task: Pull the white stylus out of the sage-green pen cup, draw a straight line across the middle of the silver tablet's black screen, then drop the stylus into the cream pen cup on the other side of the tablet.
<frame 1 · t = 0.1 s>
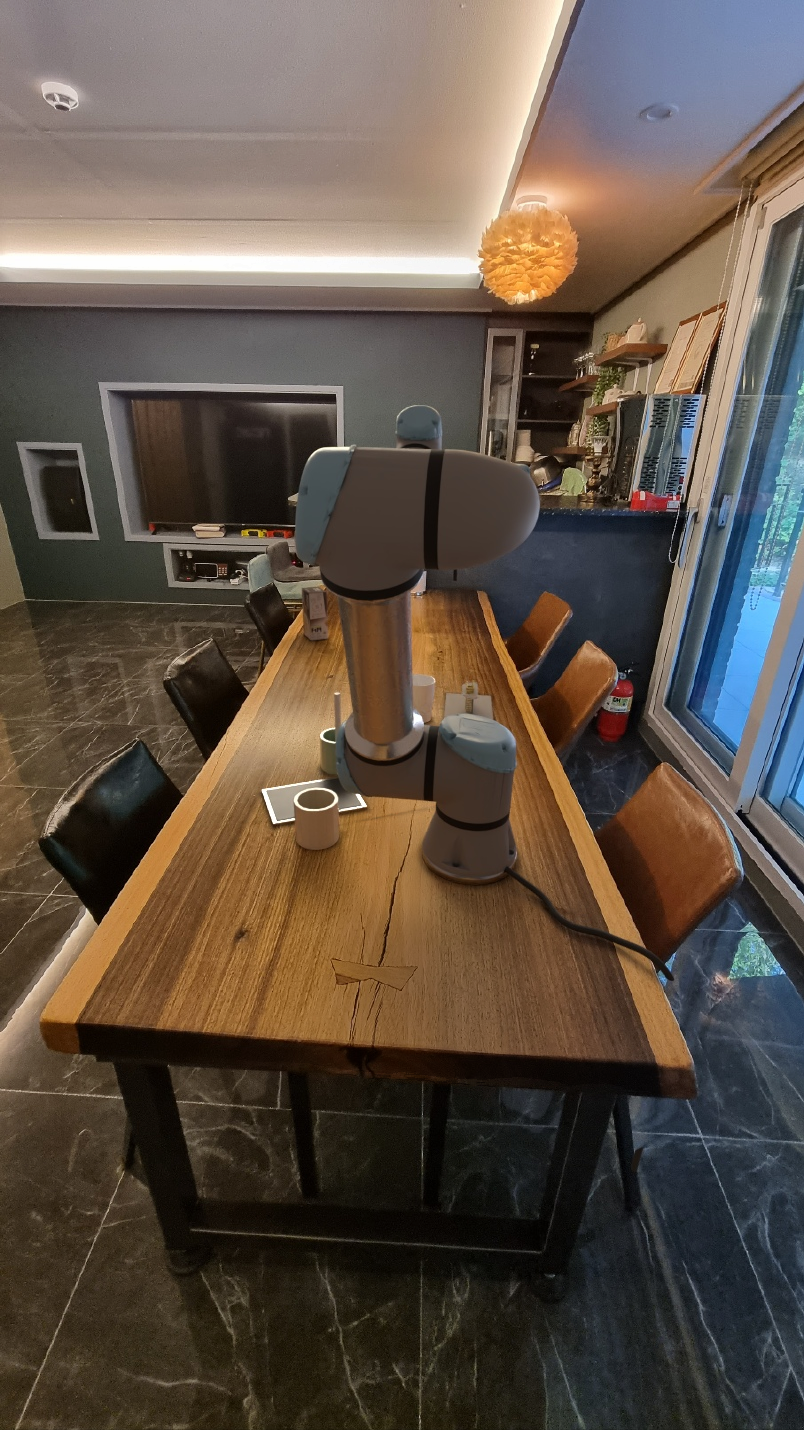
hand: (423, 574, 130), 36 cm above the table, tool tilted 35°, fingers open, 13 cm apart
platform: (468, 708, 156), on the table
stylus: (338, 765, 125), resting on pen cup green
white cup: (417, 718, 150), on the table
pen cup green: (338, 768, 126), on the table
pen cup cream: (317, 837, 104), on the table
tablet: (313, 802, 114), on the table
coffee box: (315, 636, 210), on the table
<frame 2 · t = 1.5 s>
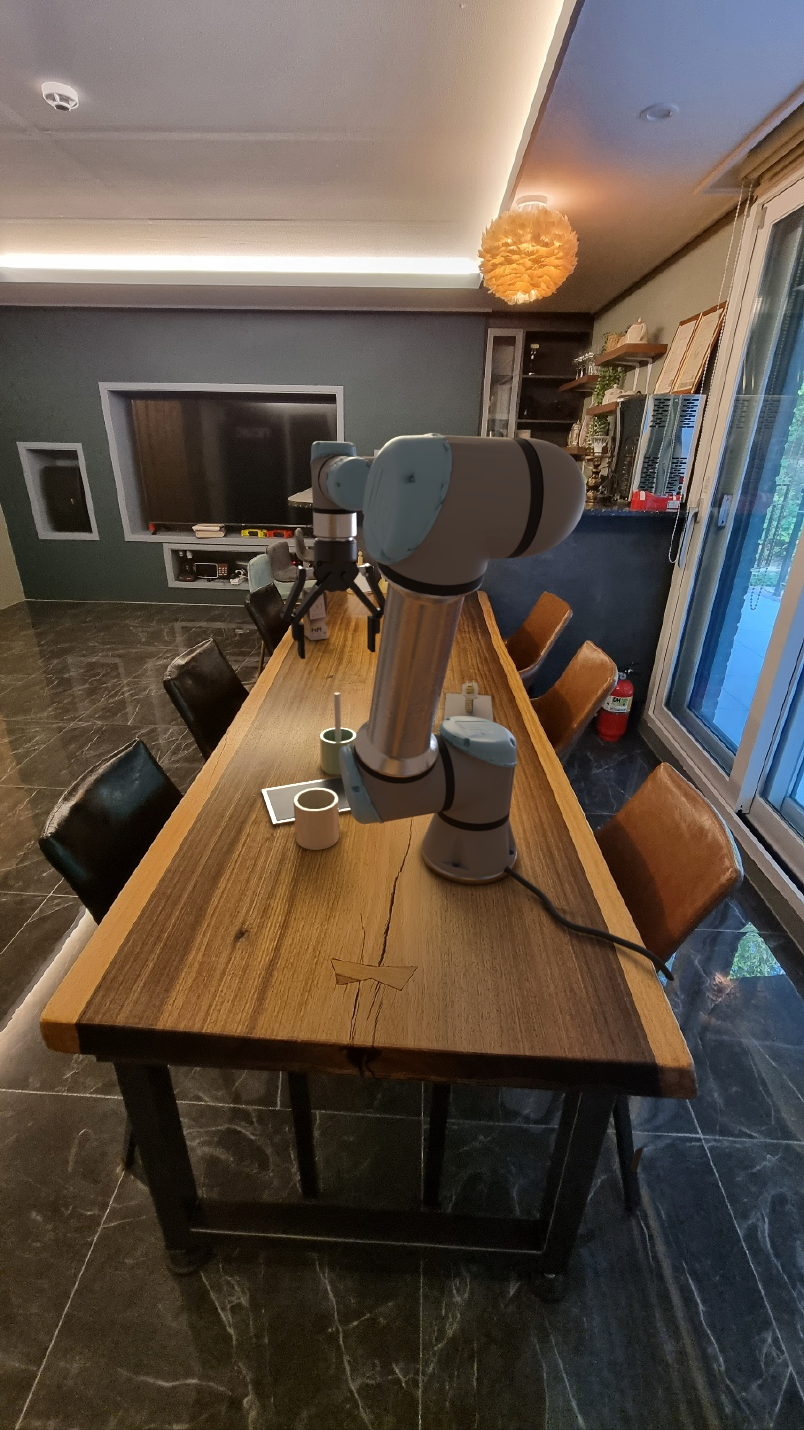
hand: (337, 653, 116), 25 cm above the table, tool pointing down, fingers open, 13 cm apart
nothing on the table moved.
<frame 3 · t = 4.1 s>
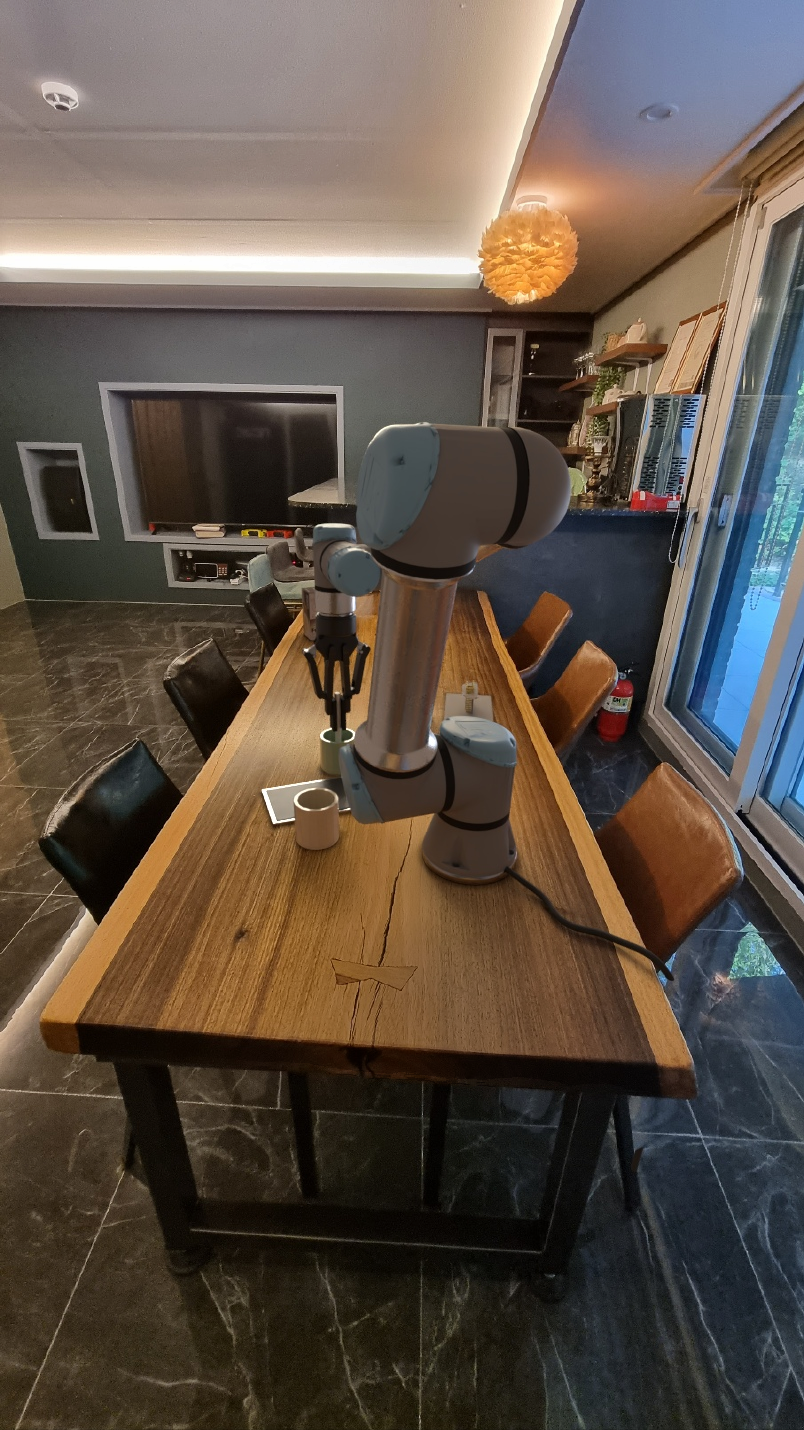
hand: (338, 728, 122), 9 cm above the table, tool pointing down, fingers closed on stylus
stylus: (338, 765, 125), point 1 cm above the table, touching gripper
everything else where it was.
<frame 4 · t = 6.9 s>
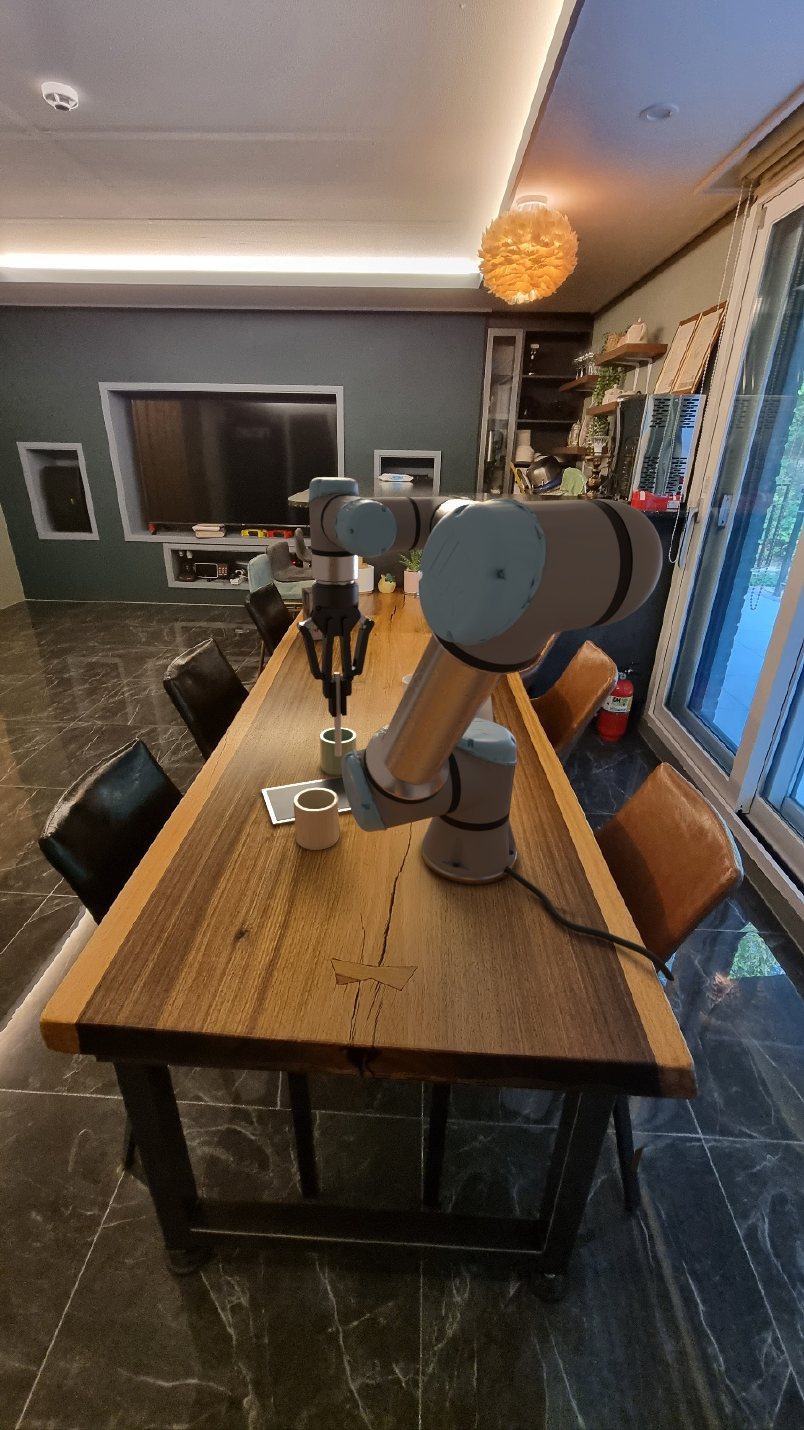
hand: (337, 713, 108), 17 cm above the table, tool pointing down, fingers closed on stylus
stylus: (338, 755, 112), point 9 cm above the table, touching gripper
everything else where it was.
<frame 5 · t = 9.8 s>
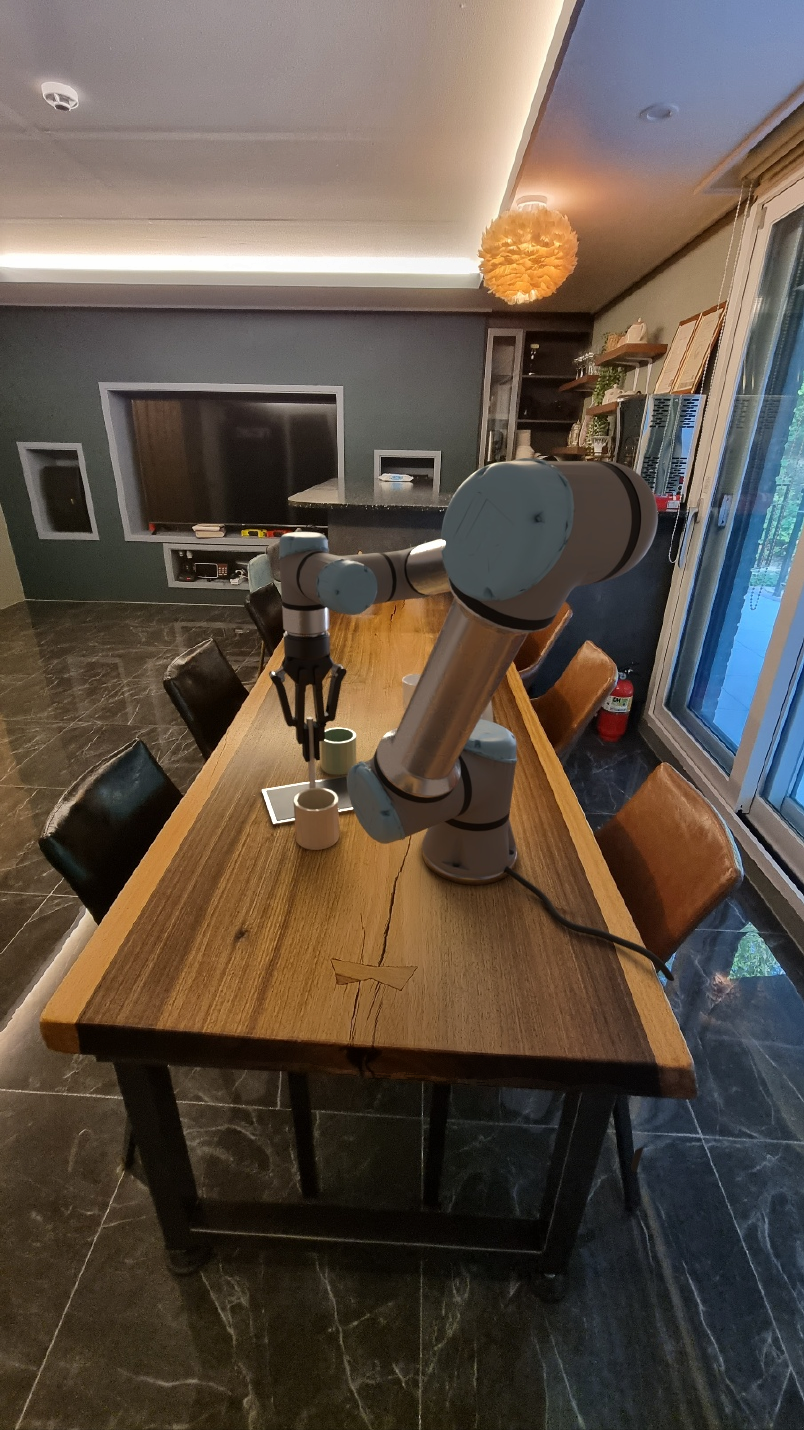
hand: (311, 757, 110), 9 cm above the table, tool pointing down, fingers closed on stylus
stylus: (313, 797, 113), point 1 cm above the table, touching gripper
everything else where it was.
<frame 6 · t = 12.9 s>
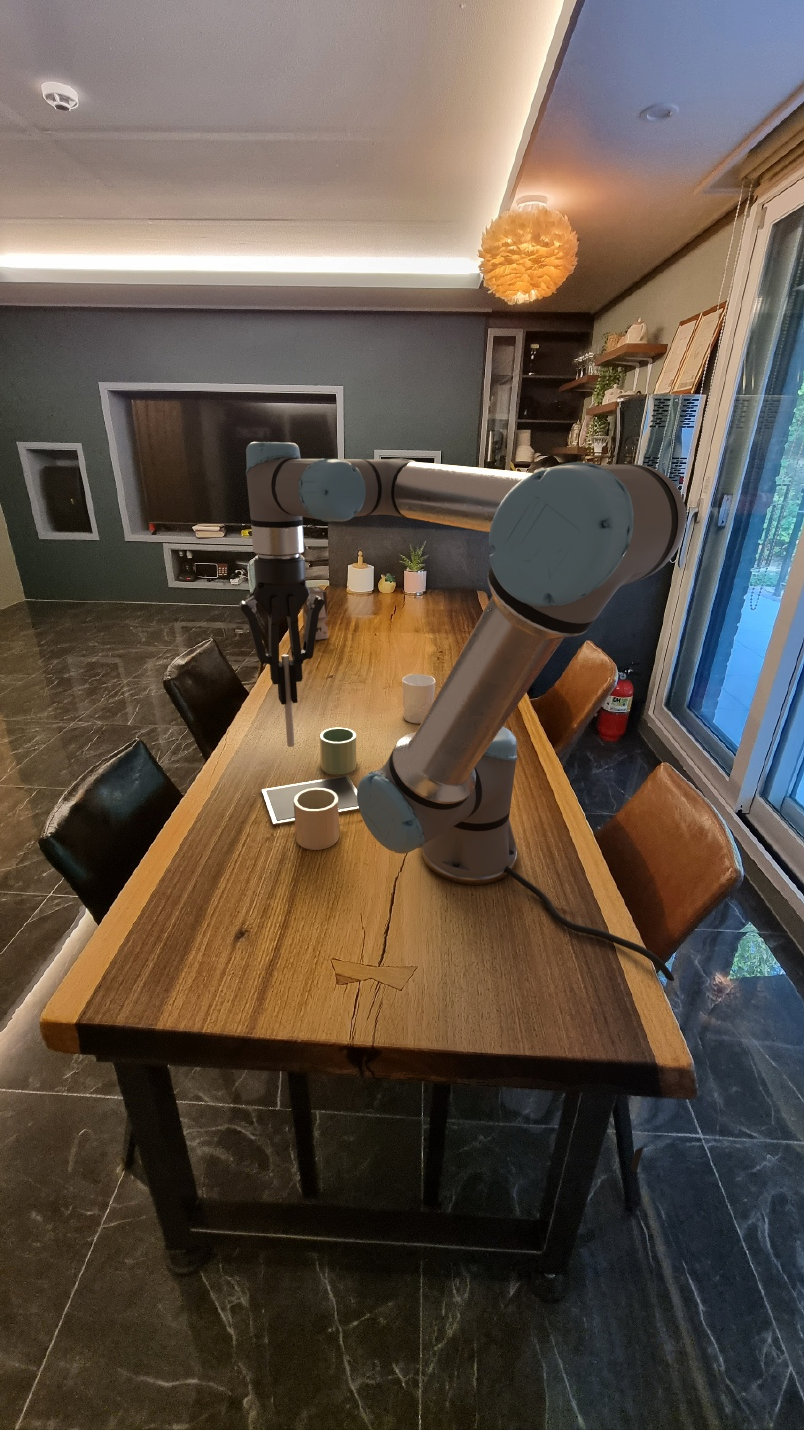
hand: (288, 700, 101), 22 cm above the table, tool pointing down, fingers closed on stylus
stylus: (290, 745, 104), point 14 cm above the table, touching gripper
everything else where it was.
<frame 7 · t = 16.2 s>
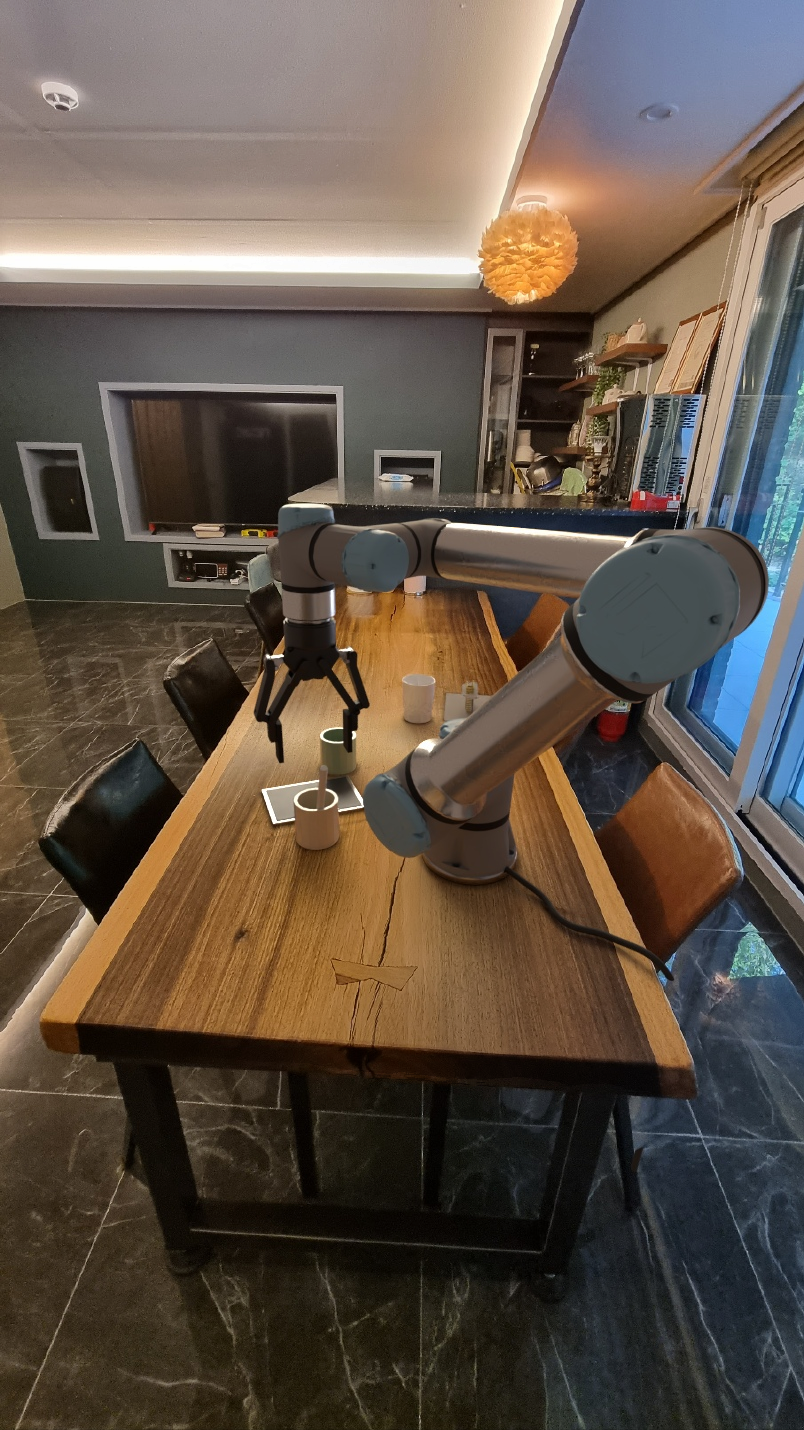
hand: (314, 754, 97), 16 cm above the table, tool pointing down, fingers open, 10 cm apart
stylus: (317, 834, 103), point 1 cm above the table, tilted 18°, touching pen cup cream
everything else where it was.
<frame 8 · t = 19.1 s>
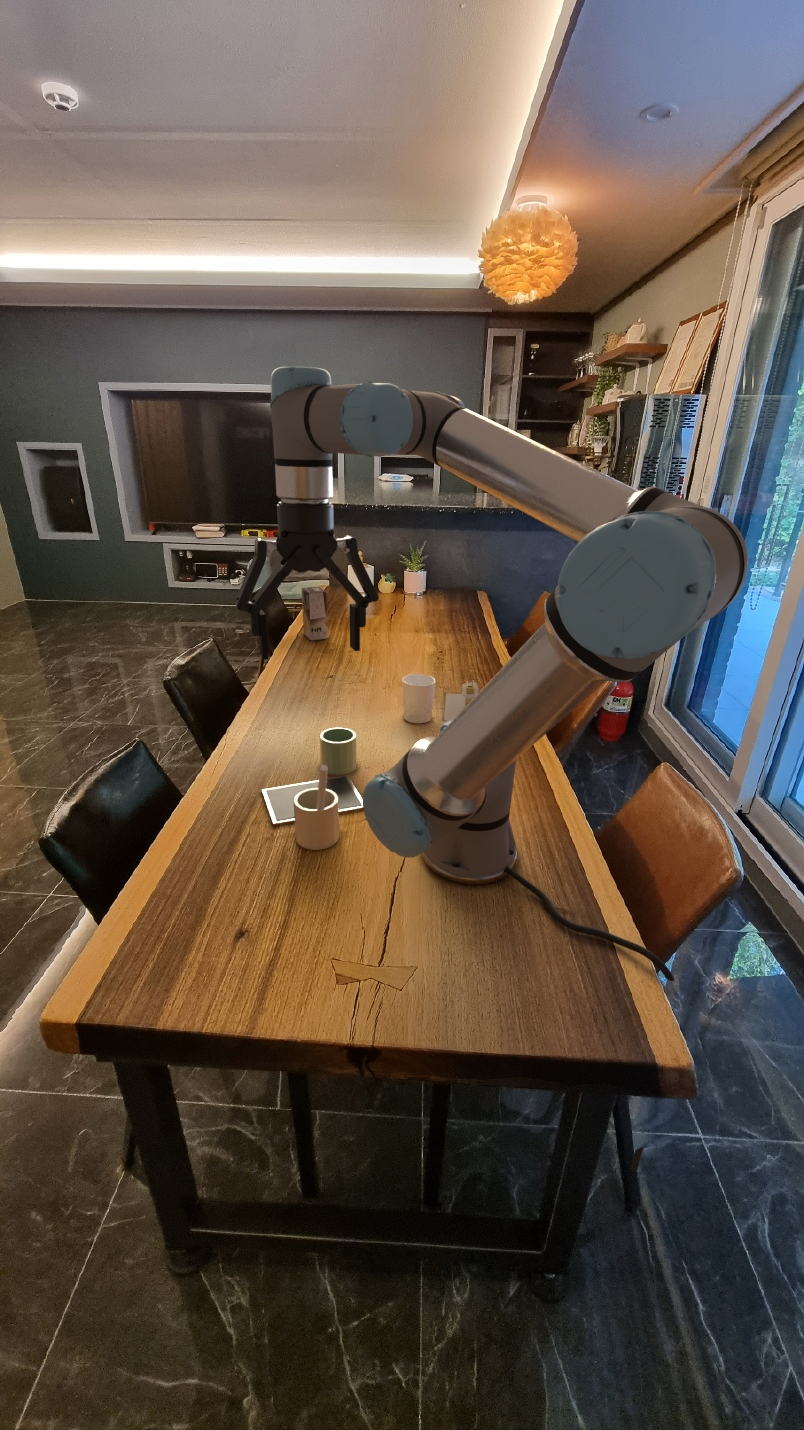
hand: (310, 652, 90), 33 cm above the table, tool pointing down, fingers open, 13 cm apart
nothing on the table moved.
at the end: stylus 0.2 cm off-centre in the pen cup cream, point 0.7 cm above the pen cup cream's base; stylus moved 24.3 cm from its start; the gripper is holding nothing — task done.
